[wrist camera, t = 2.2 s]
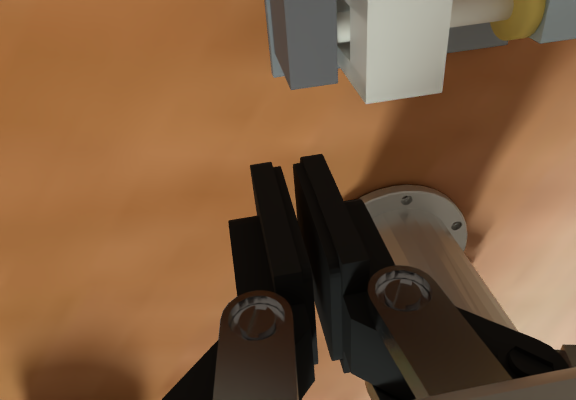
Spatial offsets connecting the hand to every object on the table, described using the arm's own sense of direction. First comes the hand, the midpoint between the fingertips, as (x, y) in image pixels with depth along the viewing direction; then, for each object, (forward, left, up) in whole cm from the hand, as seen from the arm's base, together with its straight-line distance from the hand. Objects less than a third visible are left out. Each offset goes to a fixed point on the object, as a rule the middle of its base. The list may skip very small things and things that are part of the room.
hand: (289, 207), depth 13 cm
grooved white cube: (-5, -4, -16) cm, 17 cm away
